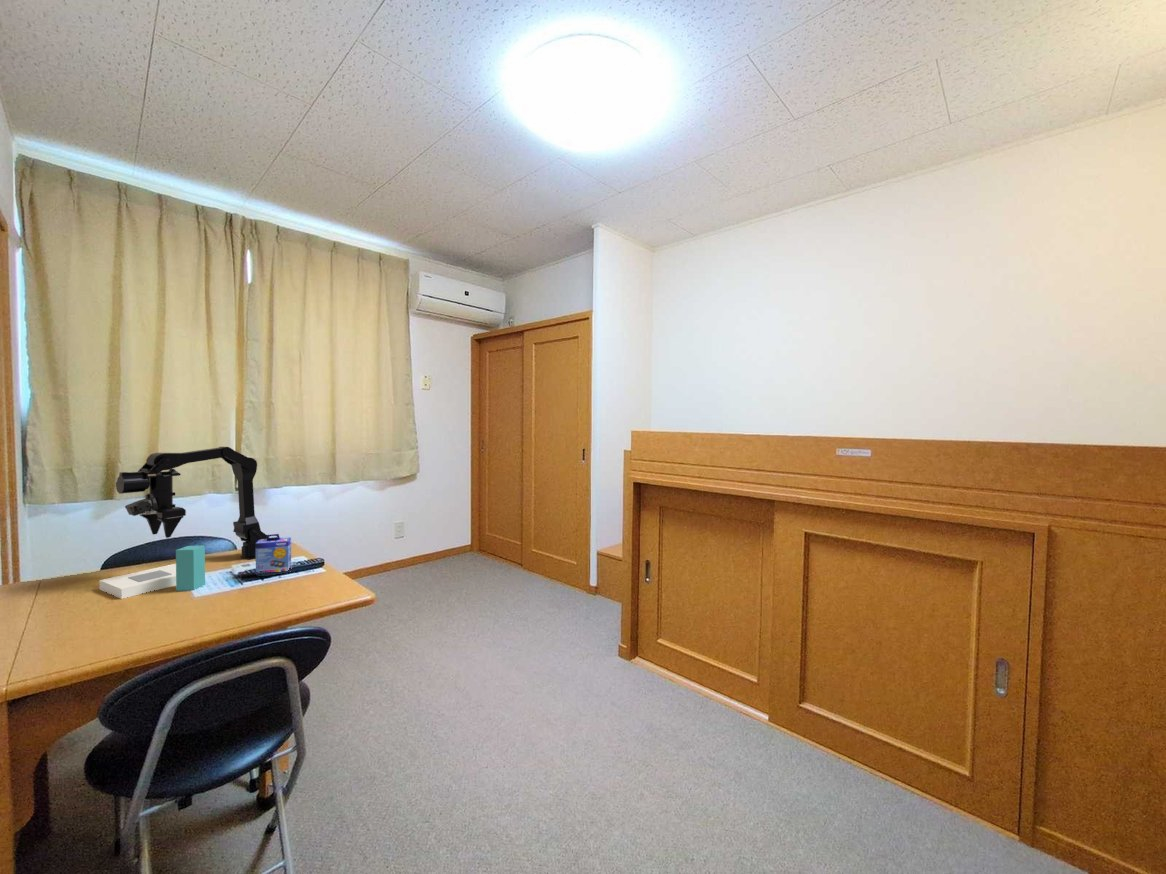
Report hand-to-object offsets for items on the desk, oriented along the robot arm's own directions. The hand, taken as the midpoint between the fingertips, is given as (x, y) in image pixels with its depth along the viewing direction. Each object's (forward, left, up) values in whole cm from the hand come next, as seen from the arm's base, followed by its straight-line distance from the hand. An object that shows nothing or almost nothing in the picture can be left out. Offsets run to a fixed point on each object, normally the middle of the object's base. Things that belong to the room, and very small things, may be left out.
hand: (161, 535), depth 150 cm
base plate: (+4, +4, -15) cm, 16 cm away
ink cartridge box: (-20, +28, -15) cm, 37 cm away
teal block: (0, +19, -15) cm, 24 cm away
